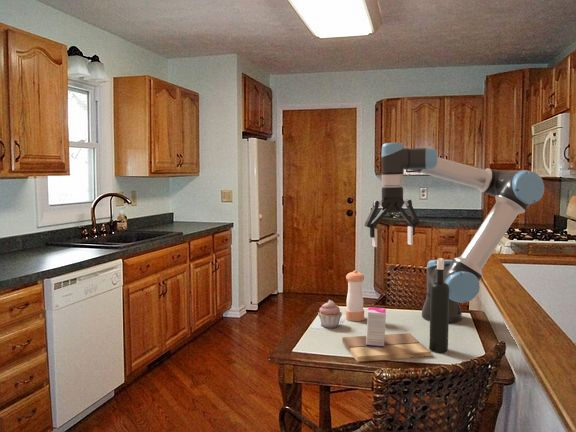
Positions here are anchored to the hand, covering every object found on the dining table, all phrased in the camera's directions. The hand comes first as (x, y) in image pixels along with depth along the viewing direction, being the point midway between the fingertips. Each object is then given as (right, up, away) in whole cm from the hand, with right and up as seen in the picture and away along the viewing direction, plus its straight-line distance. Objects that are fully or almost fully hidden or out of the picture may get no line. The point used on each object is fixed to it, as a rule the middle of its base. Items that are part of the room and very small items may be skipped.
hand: (392, 245), depth 186 cm
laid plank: (-5, -33, -22) cm, 40 cm away
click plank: (-7, -32, -14) cm, 36 cm away
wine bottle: (+11, -33, -19) cm, 39 cm away
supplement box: (-9, -31, -18) cm, 37 cm away
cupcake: (-22, -31, +8) cm, 39 cm away
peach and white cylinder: (-11, -30, +17) cm, 36 cm away
